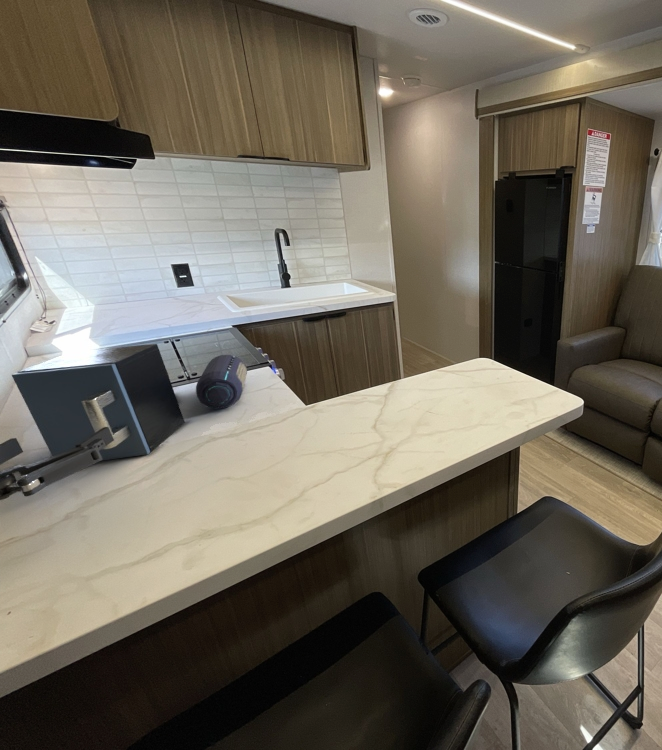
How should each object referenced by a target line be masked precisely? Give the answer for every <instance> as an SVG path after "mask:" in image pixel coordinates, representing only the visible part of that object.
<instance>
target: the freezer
mask: <svg viewBox="0 0 662 750" xmlns="http://www.w3.org/2000/svg"><path fill="white" fill-rule="evenodd" d="M105 364H115V365H116V368H117V370H118V373H119V375H120V378H121V380H122V383H123V385H124V387H125V390H126V392H127V395H128V397H129V400H130V402H131V405H132V407H133V410H134V412H135V415H136V417H137V420H138V422H139V425H140V427H141V430H142V432H143V435H144V437H145V440H146V442H147V445H148V447H149V450H150V453H152V452H153V451H155V450H156V449H157V448H158V447H159V446H161V444H162V443H164V442H165V441H166V440H168V438H169V437H170V436H172V435H174V433H175V432H176V431H178V430H179V429H180V428H181V427H182V426H183V425H184V424H186V422H185V418H184V415H183V412H182V410H181V407H180V404H179V402H178V399H177V396H176V393H175V391H174V387H173V385H172V384H173V383H172V382H171V379H170V376H168V375H169V372H168V370H167V368H166V364H165V362H164V360H163V357H162V354H161V351H160V349H159V346H158V343H150V344H139V345H128V346H118V347H116V346H115V347H108V348H107V347H106V348H94V349H85V350H73V351H71V352H69V353H66V354H63V355H60V356H58V357H55V358H52V359H49V360H47V361H43V362H40V363H38V364H35V365H33V366H29V367H27V368H24V369H22V370H18V371H17V372H16V373H23V372H33V371H43V370H54V369H64V368H74V367H84V366H95V365H105ZM167 372H168V373H167Z"/></svg>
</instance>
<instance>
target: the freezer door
mask: <svg viewBox="0 0 662 750" xmlns="http://www.w3.org/2000/svg"><path fill="white" fill-rule="evenodd" d="M11 377H12V380H13V381H14V383H15V385H16V387H17V389H18V391H19V393H20V395H21V397H22V399H23V401H24V403H25V405H26V407H27V409H28V411H29V414H30V415H31V418H33V421H34V423H35V424H36V427H37V429H38V431H39V433H40V434H41V437H42V438H43V440H44V443H45V445H46V447H47V449H48V451H49V453H50V455H51V457H52V456H55V455H58V454H61V453H63V452H66V451H69V450H72V449H75V448H76V446H75V445H77V444H78V443H80V442H81V441H83V440H85V439H86V438H88V437H89V436H91V435H92V434H94V433H95V432H97V431H99V430H100V429H102V428H103V427H109V430H110V432H111V434H112V436H113V439H114V441H112V442H111V443H110V444H108V445H107V446H105V447H104V448H103V449H101V450H100V451H99V452H100V454H101V456H102V458H103V459H102V460H101V461H108V460H116V459H123V458H131V457H138V456H145V455H149V454H150V453H151V452H150V450H149V447H148V445H147V442H146V440H145V437H144V435H143V432H142V430H141V427H140V425H139V422H138V420H137V417H136V415H135V412H134V410H133V407H132V405H131V402H130V400H129V397H128V395H127V392H126V390H125V387H124V385H123V383H122V380H121V378H120V375H119V373H118V370H117V368H116V365H115V364H105V365H95V366H84V367H74V368H64V369H54V370H43V371H33V372H23V373H17V372H16V373H13V374H11ZM101 461H100V462H101Z"/></svg>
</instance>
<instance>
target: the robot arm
mask: <svg viewBox="0 0 662 750" xmlns="http://www.w3.org/2000/svg"><path fill="white" fill-rule="evenodd" d="M112 441H114V439H113V436H112V434H111V432H110V430H109V427H103V428H102V429H100V430H99V431H97V432H95V433H94V434H92V435H91V436H89V437H88V438H86V439H85V440H83V441H81V442H80V443H78V444H77V445H75V446H76V448H75V449H72V450H69V451H66V452H63V453H61V454H58V455H55V456H52V455H51V456H50V457H46V458H44V459H41V460H38V461H36V462H33V463H29V464H27V465H23V464H17V465H15V466H11V467H9V468H6V469H3V470H0V501H3V500H5V499H8V498H9V497H11V496H12V495H14V494H16V493H22V495H23V497H30V496H32V495H36V493H39V492H40V491H41V490H43V489H44V488H46V487H48V486H50V485H52V484H54V483H56V482H58V481H61V480H63V479H65V478H67V477H70V476H72V475H73V474H76V473H78V472H81V471H82V470H84V469H86V468H88V467H90V466H93V465H94V464H97V463H99V462H101V460H102V459H103V458H102V456H101V454H100V452H99V451H100V450H101V449H103V448H104V447H105V446H107V445H108V444H110V443H111V442H112ZM22 453H24V450H23V448H22V446H21V444H20V442H19V440H18V439H17V437H14V438H13V437H12V438H10V439H7V440H6V441H4V442H1V443H0V466H1V465H3V464H5V463H6V462H8V461H10V460H11V459H14V458H15V457H17V456H19V455H20V454H22ZM102 461H103V460H102ZM15 473H18V474H19V476H20V478H19V479H17V478H16V476H15V475H14V474H15Z"/></svg>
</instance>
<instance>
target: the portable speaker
mask: <svg viewBox="0 0 662 750" xmlns="http://www.w3.org/2000/svg"><path fill="white" fill-rule="evenodd" d="M247 374H248V367H247V365H246V363H245V362H244V360H242V359H241V358H240V357H239V356H237V355H232V354H220V355H218V356H215V357H213V358H212V359H211V360H210V361H209V362H208V363H207V365H206V366H205V368H204V370H203V372H202V374H201V375H200V377H199V379H198V381H197V383H196V385H195V394H196V395H195V396H196V398H197V400H198V401H199V403H200V404H202V406H205V407H207V408H210V409H214V410H219V409H226V408H229V407H231V406H233V405H235V404H236V403H238V401H239V400H240V399H241V397H242V394H243V390H244V387H245V383H246V380H247Z"/></svg>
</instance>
